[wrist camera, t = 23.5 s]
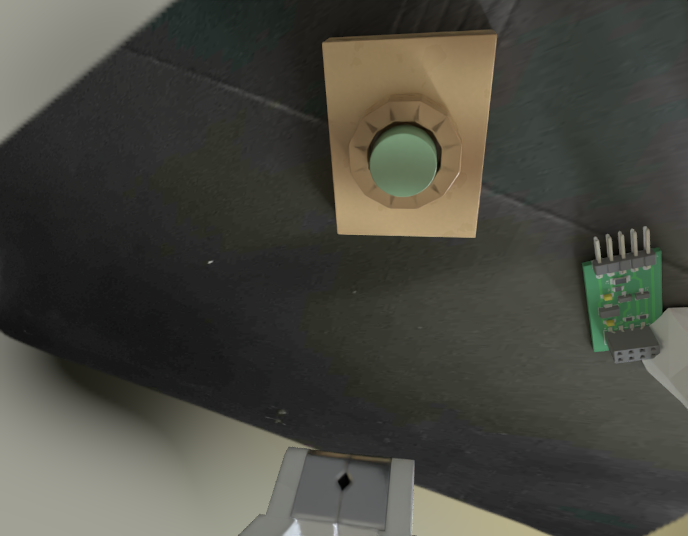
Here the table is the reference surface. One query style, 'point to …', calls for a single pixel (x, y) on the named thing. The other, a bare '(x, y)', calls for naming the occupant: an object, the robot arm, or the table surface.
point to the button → (403, 161)
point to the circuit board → (624, 299)
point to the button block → (409, 109)
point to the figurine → (671, 352)
